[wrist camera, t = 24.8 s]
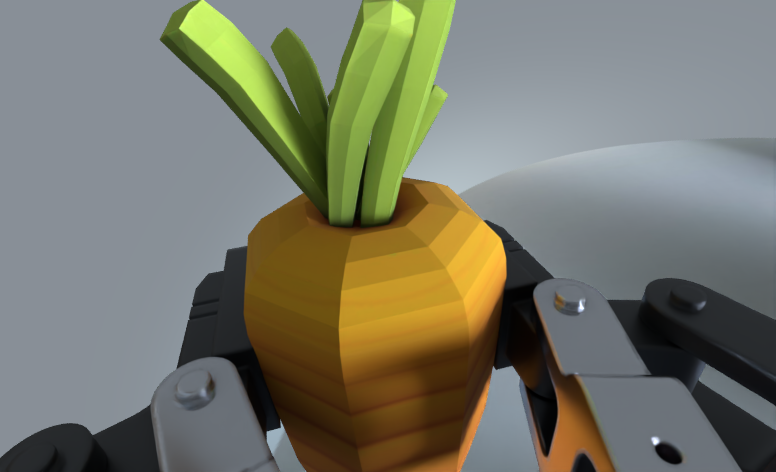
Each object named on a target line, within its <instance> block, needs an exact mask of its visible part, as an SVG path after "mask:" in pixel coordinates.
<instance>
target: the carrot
mask: <svg viewBox="0 0 776 472" xmlns="http://www.w3.org/2000/svg"><path fill="white" fill-rule="evenodd" d="M455 1H456V0H399V2H397V1H395V0H363V1H362V4H361V7H360V10H359V12H358V15H357V18H356V21H355V24H354V27H353V30H352V33H351V36H350V39H349V41H348V44H347V46H346V49H345V52H344V54H343V57H342V60H341V64H340V67H339V72H338V75H337V79H336V83H335V86H334V89H333V90H332V91H331V92H330V94H329V95H328V97H327V98H328V102H329V105H328V102H327V99H326V95H325V92H324V89H323V86H322V83H321V80H320V76H319V73H318V70H317V67H316V65H315V63H314V61H313V59H312V58H311V56H310V54H309V52H308V51H307V49H306V47H305V46H304V44H303V42H302V41H301V40H300V39H299V37H298V36H297V35H296V34H295V33H294V32H293V31H292V30H290V29H289V28H285V29H284V30H283V31H282V32H281V33H280V34H279V35H277V37H276V39H275V40H274V42H273V44H272V45H271V48H272V51H273V53H274V55H275V57H276V59H277V61H278V63H279V65H280V66H281V68H282V70H283V72H284V74H285V76H286V79H287V81H288V84H289V86H290V89H291V92H292V94H293V97H294V99H295V102H296V104H297V107H298V110H299V112H300V114H299V113H298V111H297V110H296V108H295V106H294V105H293V103H292V101H291V100H290V98H289V96H288V95H287V93H286V92H285V90H284V88H283V87H282V85H281V83H280V82H279V80H278V79H277V77H276V76H275V74H274V72H273V70H272V69H271V67H270V66H269V64H268V62H267V61H266V60H265V59H264V57H263V56H262V55H261V54H260V53H259V52H258V51H257V50H256V49H255V48H254V46H253V45H252V44H251V43H250V42H249V41H248V40H247V39H246V38H245V37H244V35H243V34H242V33H241V32H240V31H239V30H238V29H237V28H236V27H235V26H234V24H232V23H231V22H230V21H229V20H228V19H226V18H225V17H224V16H223V15H222V14H220V13H219V12H218V11H216V10H215V9H214V8H213V7H212V6H210V5H209V4H208V3H207V2H205V1H204V0H197V1H193V2H190V3H188V4H187V5H185V6H184V7H182V8H180V9H179V10H177V11H176V12H174V13H173V14H172V16H171V18H170V20H169V23H168V24H167V26H166V28H165V30H164V32H163V34H162V36H161V38H160V41H161V42H162V43H163V44H165V45H166V46H167V47H168V48H169V49H170V50H171V51H172V52H173V53H174V54H175V55H176V56H177V57H178V58H179V59H180V60H181V61H182V62H183V63H184V64H186V65H187V66H188V67H189V68H190V69H191V70H192V71H193V72H194V73H195V74H197V75H198V76H199V77H200V78H201V79H202V80H203V81H204V82H205V83H206V84H208V85H209V86H210V87H211V88H212V89H213V90H214V91H215V92H216V93H217V94H218V95H219V96H220V97H221V98H222V99H223V100H224V102H225V103H226V104H227V105H228V106H229V107H230V109H231V110H232V111H233V112H234V113H235V114H236V115H237V116H238V118H239V119H240V120H241V121H242V122H243V123H244V124H245V125H246V127H247V128H248V129H249V130H250V131H251V132H252V134H253V135H254V136H255V137H256V138H257V139H258V140H259V141H260V143H261V144H262V145H263V146H264V147H265V148H266V149H267V151H268V152H269V153H270V154H271V155H272V156H273V157H274V159H275V160H276V161H277V162H278V163H279V164H280V166H281V167H282V168H283V169H284V170H285V172H286V173H287V174H288V175H289V176H290V177H291V178H292V180H293V181H294V182H295V183H296V184H297V186H298V187H299V188H300V189H301V190H302V191H303V192H304V193H303V194H301V195H299V196H298V197H296V198H294V199H293V200H291V201H290V202H288V203H287V204H285V205H283V206H282V207H280V208H278V209H277V210H275V211H273V212H272V213H270V214H269V215H267V216H265V217H264V218H262V219H261V220H260V221H259V222H258V224H257V225H256V226H255V227H254V229H253V230H252V231H251V233H250V234H249V235H248V247H247V262H246V278H245V295H244V319H245V324H246V329H247V334H248V337H249V340H250V342H251V345H252V347H253V348H254V351H255V353H256V356H257V358H258V361H259V364H260V367H261V370H262V373H263V376H264V379H265V381H266V384H267V387H268V390H269V392H270V395H271V398H272V400H273V403H274V406H275V408H276V410H277V413H278V415H279V417H280V419H281V422H282V424H283V426H284V429H285V431H286V433H287V435H288V438H289V440H290V442H291V445H292V447H293V449H294V451H295V454H296V456H297V458H298V460H299V462H300V463H301V464H302V466H303V467H304V469H305V470H306V471H307V472H460V471H461V468H462V466H463V463H464V461H465V458H466V456H467V454H468V451H469V449H470V446H471V444H472V441H473V439H474V436H475V433H476V430H477V428H478V425H479V422H480V420H481V417H482V414H483V411H484V409H485V406H486V401H487V395H488V390H489V385H490V379H491V374H492V368H493V363H494V358H495V352H496V346H497V339H498V332H499V325H500V318H501V310H502V303H503V295H504V288H505V282H506V255H505V252H504V248H503V244H502V240H501V238H500V237H499V236H498V235H497V234H496V233H495V232H494V231H493V230H492V229H491V228H490V227H489V226H488V225H487V224H486V223H485V222H484V221H483V220H482V219H481V218H480V217H479V216H478V215H477V214H476V213H475V212H474V211H473V210H472V209H471V208H470V207H469V206H468V205H467V204H466V203H465V202H464V201H463V200H462V199H461V198H460V197H459V196H458V195H457V194H456V193H455V192H453V191H452V190H451V189H450V188H449V187H448V186H445V185H442V184H438V183H434V182H428V181H422V180H416V179H410V178H404V177H403V174H404V172H405V170H406V169H407V167H408V165H409V164H410V162H411V160H412V159H413V157H414V155H415V154H416V152H417V150H418V149H419V147H420V145H421V144H422V142H423V140H424V138H425V136H426V134H427V133H428V131H429V129H430V127H431V125H432V124H433V122H434V120H435V118H436V116H437V114H438V112H439V111H440V109H441V107H442V105H443V103H444V101H445V100H446V98H447V96H448V94H447V93H445V92H444V91H443V90H442V89H441V88H440V87H438V86H437V85H433V83H434V80H435V76H436V73H437V70H438V66H439V63H440V60H441V56H442V53H443V49H444V46H445V43H446V39H447V36H448V33H449V29H450V25H451V20H452V16H453V11H454V6H455ZM300 115H301V116H300ZM372 128H373V129H372ZM371 132H372V135H371ZM370 136H371V140H370ZM369 140H370V146H369Z"/></svg>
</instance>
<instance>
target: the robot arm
mask: <svg viewBox="0 0 776 472" xmlns="http://www.w3.org/2000/svg"><path fill="white" fill-rule="evenodd" d="M484 222H485V223H486V224H487V225H488V226H489V227H490V228H491V229H492V230H493V231H494V232H495V233H496V234H497V235H498V236H499V237H500V238H501V240H502V244H503V248H504V252H505V255H506V282H505V288H504V295H503V303H502V310H501V318H500V325H499V332H498V339H497V346H496V352H495V358H494V363H493V366H494V368H495V369H496V370H497V369H501V368H505V367H509V366H513V367H514V369H515V370H516V372H517V373H518V375H519V376H520V382H519V388H520V393H521V397H522V401H523V405H524V409H525V413H526V417H527V421H528V425H529V430H530V434H531V438H532V442H533V446H534V450H535V454H536V458H537V462H538V467H539V472H776V430H774V429H772V428H771V427H769V426H767V425H766V424H764V423H763V422H761V421H759V420H758V419H756V418H755V417H753V416H752V415H750V414H749V413H747V412H746V411H744V410H742V409H741V408H739V407H738V406H736V405H735V404H733V403H732V402H730V401H729V400H727V399H725V398H724V397H722V396H721V395H719V394H718V393H716V392H715V391H713V390H712V389H710V388H708V387H707V386H705V385H704V384H702V383H701V382H699V381H698V379H699V377H700V375H701V373H702V371H703V369H704V367H705V365H706V364H708V365H710V366H711V367H713V368H715V369H716V370H718V371H719V372H721V373H723V374H724V375H726V376H728V377H729V378H731V379H733V380H734V381H736V382H738V383H739V384H741V385H742V386H744V387H746V388H747V389H749V390H751V391H752V392H754V393H756V394H757V395H759V396H761V397H762V398H764V399H766V400H767V401H769V402H770V403H772V404H774V405H775V406H776V320H774V319H772V318H770V317H768V316H765V315H763V314H761V313H759V312H757V311H755V310H753V309H751V308H749V307H747V306H744V305H742V304H740V303H738V302H736V301H734V300H732V299H730V298H728V297H726V296H724V295H721V294H719V293H717V292H715V291H713V290H711V289H709V288H707V287H704V286H702V285H700V284H697V283H694V282H691V281H687V280H682V279H674V278H664V279H658V280H654V281H652V282H650V283H649V284H648V285H647V287H646V289H645V292H644V295H643V298H642V300H606V298H605V297H604V296H603V295H602V294H601V293H600V292H599V291H598V290H596V289H595V288H593V287H592V286H590V285H588V284H585V283H583V282H580V281H577V280H572V279H564V278H557V279H555V278H554V277H553V276H552V275H551V274H550V273H549V272H548V271H547V270H546V269H545V268H544V267H543V266H542V265H541V264H540V263H538V262H537V261H536V260H535V259H534V258H533V257H532V256H531V255H530V254H529V253H528V252H527V251H526V250H525V249H524V250H523V247H522V246H521V245H520V244H519V243H518V242H517V241H514V238H513V237H512V236H511V235H510V234H509V233H508V232H507V231H506V230H505V229H504V228H502V227H500V226H498V225H496V224H494V223H492V222H490V221H487V220H484ZM247 247H248V246H244V247H239V248H234V249H228V250H227V255H226V261H225V267H224V271H220V272H215V273H209V274H208V275H207V276H206V277H205V278H204V280H203V281H202V282H201V283H200V284H199V286H198V287H197V288H196V291H195V295H194V299H193V303H192V305H193V307H191V311H190V316H189V319H190V320H188V324H187V328H186V332H185V336H184V341H183V344H182V348H181V353H180V356H179V361H178V365H177V369H176V370H175V371H173V372H172V373H171V374H169V375H168V376H167V377H166V378H165V379H164V380H163V381H162V382H161V384H160V385H159V386H158V387H157V389H156V391H155V392H154V395H153V397H152V400H151V404H150V405H149V406H148V407H147V408H145V409H143V410H142V411H140V412H139V413H137V414H135V415H133V416H131V417H130V418H127V419H125V420H123V421H121V422H119V423H117V424H115V425H113V426H111V427H109V428H107V429H105V430H103V431H101V432H99V433H97V434H95V435H92V434H91V433H90V431H89V430H88V429H87V428H86V427H84V426H82V425H79V424H73V423H69V424H68V423H67V424H61V425H56V426H52V427H49V428H46V429H44V430H41V431H39V432H37V433H35V434H33V435H31V436H30V437H28V438H26V439H24V440H23V441H21V442H20V443H18V444H17V445H15V446H14V447H13V448H12V449H10V450H9V451H8V452H7V453H5V454H4V455H3V456H2V457H1V458H0V472H280V470H279V468H278V466H277V463H276V461H275V459H274V457H273V456H272V453H271V451H270V449H269V446H268V444H267V435H266V434H267V431H270V430H274V429H278V428H281V425H280V417H279V415H278V413H277V410H276V408H275V406H274V403H273V400H272V398H271V395H270V392H269V390H268V387H267V384H266V381H265V379H264V376H263V373H262V370H261V367H260V364H259V361H258V358H257V356H256V353H255V351H254V348H253V347H252V345H251V342H250V340H249V337H248V334H247V329H246V324H245V319H244V295H245V278H246V262H247Z"/></svg>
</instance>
